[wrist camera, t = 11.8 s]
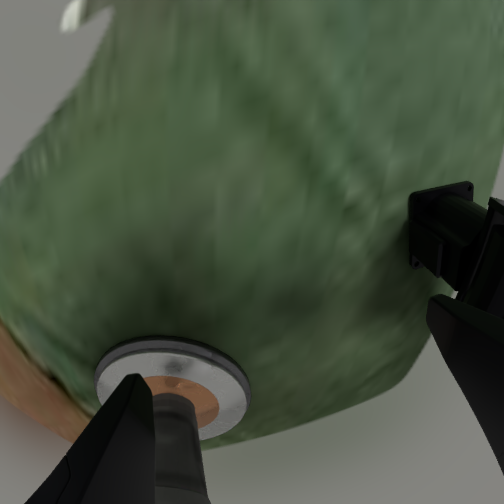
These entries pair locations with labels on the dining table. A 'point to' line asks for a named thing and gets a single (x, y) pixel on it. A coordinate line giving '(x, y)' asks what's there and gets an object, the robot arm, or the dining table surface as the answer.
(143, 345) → the base
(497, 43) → the dining table surface
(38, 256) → the dining table surface
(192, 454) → the beverage cup
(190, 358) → the disc
